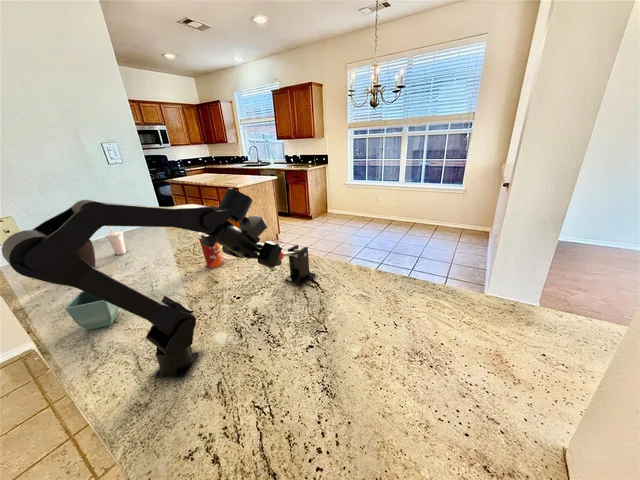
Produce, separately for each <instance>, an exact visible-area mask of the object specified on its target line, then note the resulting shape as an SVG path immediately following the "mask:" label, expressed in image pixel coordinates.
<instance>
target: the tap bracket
mask: <svg viewBox="0 0 640 480" xmlns="http://www.w3.org/2000/svg"><path fill="white" fill-rule="evenodd" d="M294 249H300V250H299V251H297V255H298V257H294V256H288V263H289V273H290V275H288V276H287V277H285V278H284V280H285V281H286V282H287V283H288V282H289V283H292V284H294V285H298V286H300V287H301V286H303V285H305V284H306V283H307V282H309V281H310V280H311V279H312V278H314V277H315V276H316V273H315V272H311V271H310V260H309V247H308V246H304V247H302V248H299V244H294V245H293V246H291V247H289V248H287V252H293V250H294Z"/></svg>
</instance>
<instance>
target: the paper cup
mask: <svg viewBox="0 0 640 480" xmlns="http://www.w3.org/2000/svg"><path fill="white" fill-rule="evenodd" d="M204 234H205V233H201V232H197V239H198V240H199V243H200V246H201V250H202V254H203V256H204V260H205V264H206V266H207V268H211V269H212V268H218V267H220V266H221V265H223V260H222V252H221V251H222V250H221V245H220V244H218V243H215V245H214V246H213V248H210V247H207V246H204V245H202V238H201V235H204Z"/></svg>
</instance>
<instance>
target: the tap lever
mask: <svg viewBox="0 0 640 480" xmlns="http://www.w3.org/2000/svg"><path fill="white" fill-rule="evenodd" d="M300 249H301V248H299V249H294V250H293V252H288V251H286V252H283V250H282V251H281V253H280V255H279V258H280V260H281V261H282V260H284V257H289V256H294V257H298V255H297V251H299V250H300Z"/></svg>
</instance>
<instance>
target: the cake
mask: <svg viewBox="0 0 640 480" xmlns="http://www.w3.org/2000/svg"><path fill="white" fill-rule="evenodd" d="M149 266H150V265H149V264H148V267H149ZM96 269H97V270H99V271H101V272H103V273H105V274H107V275H109V276H111V277H112V278H114V279H116V280H118V281H120V280H119V279H117V278H115V277H114V275H113V274H112V273H115V272H116V271H117V272H118V271H119V270H120V268H119V266H118V261H117V260H116V261H114V262H111V263H109V264H107V265H103V266H101V267H99V268H96Z"/></svg>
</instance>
